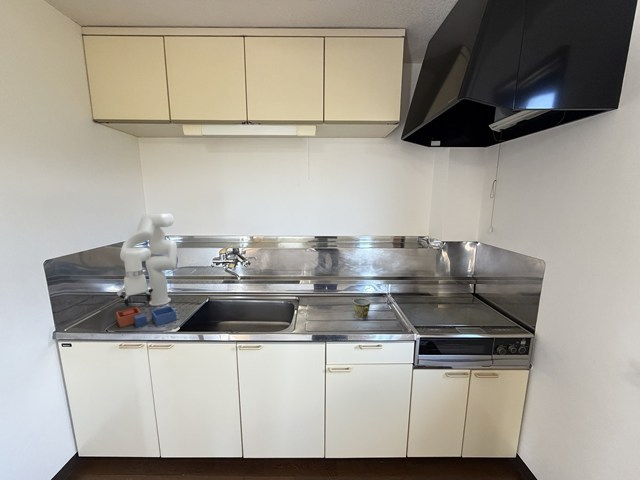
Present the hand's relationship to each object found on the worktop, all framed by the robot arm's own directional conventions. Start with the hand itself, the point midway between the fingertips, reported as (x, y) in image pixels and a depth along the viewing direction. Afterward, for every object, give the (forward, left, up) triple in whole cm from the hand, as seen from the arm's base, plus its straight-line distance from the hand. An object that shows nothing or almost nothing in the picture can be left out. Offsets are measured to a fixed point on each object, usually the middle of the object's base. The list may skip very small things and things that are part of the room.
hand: (137, 303), depth 149 cm
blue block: (0, 0, -13) cm, 13 cm away
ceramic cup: (+81, +96, -13) cm, 126 cm away
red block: (-9, -4, -12) cm, 16 cm away
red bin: (-9, -4, -13) cm, 16 cm away
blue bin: (+3, +11, -13) cm, 17 cm away
